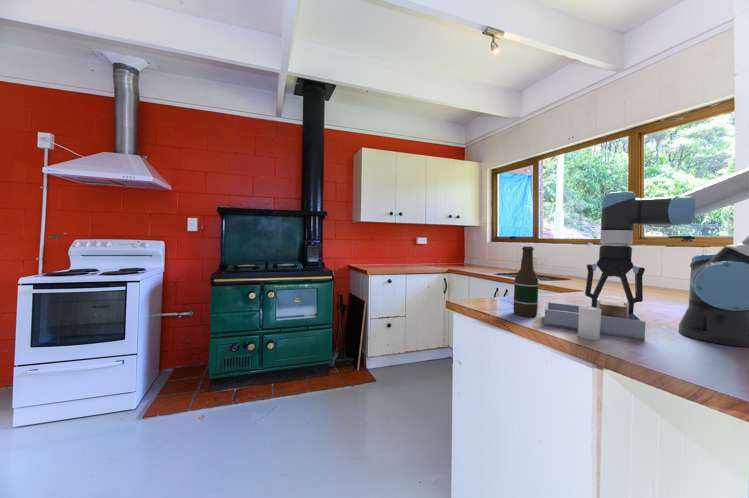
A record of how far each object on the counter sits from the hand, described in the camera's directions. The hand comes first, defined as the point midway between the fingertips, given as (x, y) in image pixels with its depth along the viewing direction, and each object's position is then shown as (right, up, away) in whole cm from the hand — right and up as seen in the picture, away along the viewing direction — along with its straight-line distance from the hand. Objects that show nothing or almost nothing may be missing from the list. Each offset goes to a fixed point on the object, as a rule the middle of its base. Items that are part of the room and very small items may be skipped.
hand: (610, 322), depth 91 cm
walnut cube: (0, 0, 0) cm, 0 cm away
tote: (-5, -2, +3) cm, 6 cm away
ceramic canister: (-12, -2, -7) cm, 14 cm away
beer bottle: (-18, -1, +16) cm, 24 cm away
